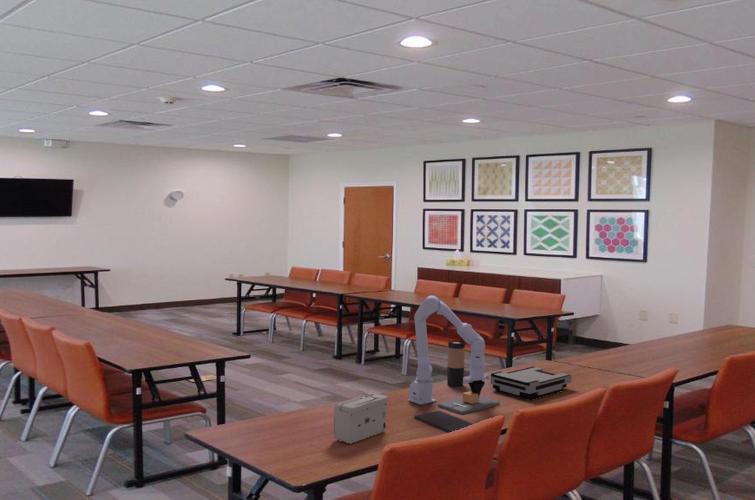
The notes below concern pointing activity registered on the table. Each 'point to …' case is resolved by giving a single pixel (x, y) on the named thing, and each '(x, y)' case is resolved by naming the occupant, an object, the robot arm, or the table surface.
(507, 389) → the game console
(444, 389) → the table surface
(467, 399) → the fader knob
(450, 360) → the travel mug
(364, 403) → the stereo radio cassette player
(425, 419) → the notebook
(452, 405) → the fader panel
